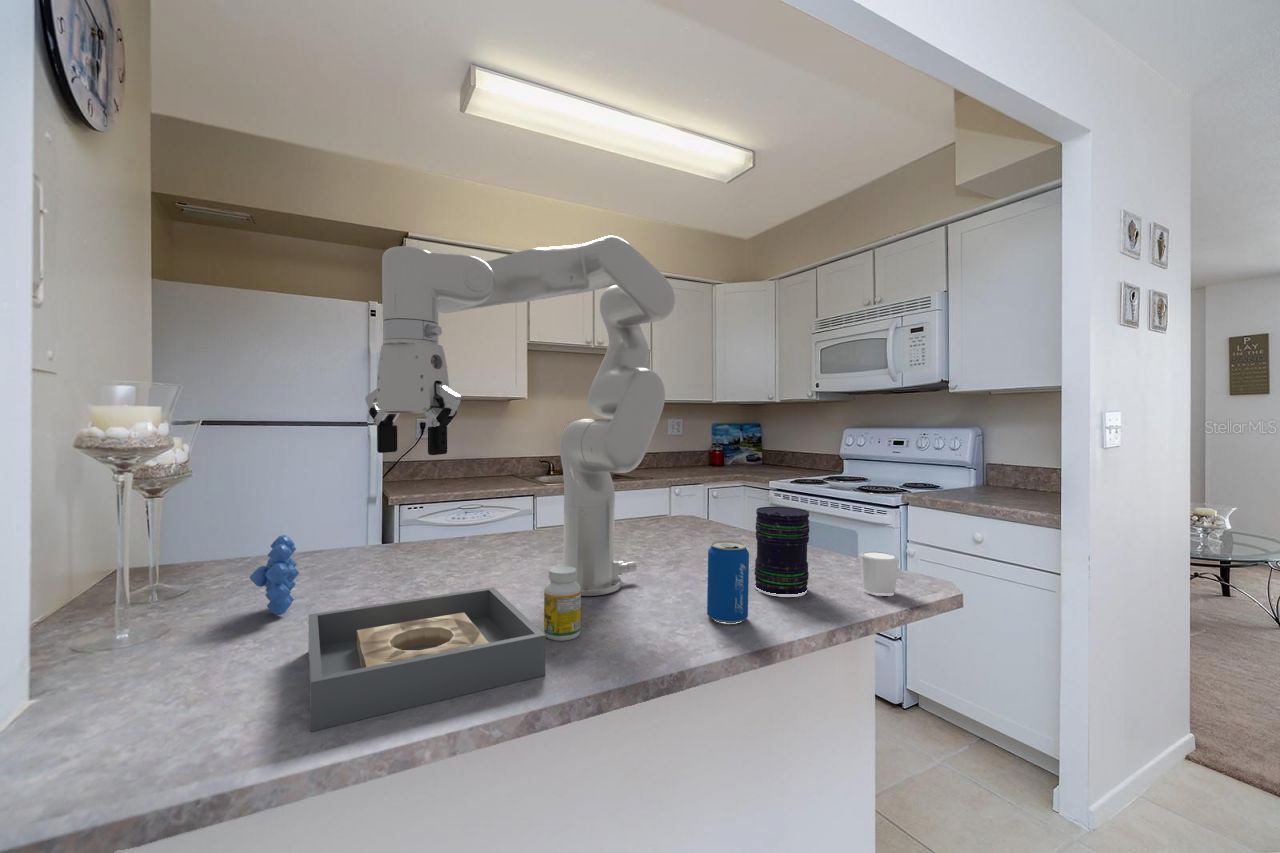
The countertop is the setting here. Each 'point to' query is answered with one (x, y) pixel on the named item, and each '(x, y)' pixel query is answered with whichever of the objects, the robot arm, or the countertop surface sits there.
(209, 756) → the countertop surface
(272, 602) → the grapes
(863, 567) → the white short cylinder
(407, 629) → the bore plate
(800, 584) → the storage jar
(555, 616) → the supplement bottle
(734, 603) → the beverage can
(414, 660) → the open box
